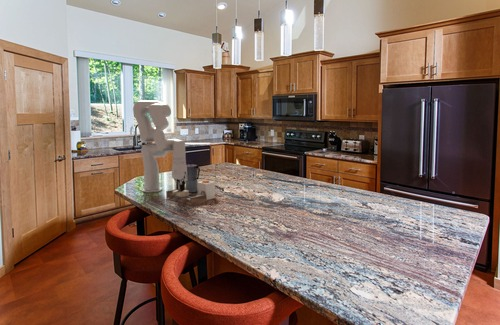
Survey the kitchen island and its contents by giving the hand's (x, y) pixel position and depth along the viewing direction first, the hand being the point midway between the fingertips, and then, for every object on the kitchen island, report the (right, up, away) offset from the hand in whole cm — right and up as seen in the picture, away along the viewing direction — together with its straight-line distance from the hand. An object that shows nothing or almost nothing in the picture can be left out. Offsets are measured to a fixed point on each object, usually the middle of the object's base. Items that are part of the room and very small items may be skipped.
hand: (180, 189), depth 201 cm
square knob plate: (0, -4, +1) cm, 4 cm away
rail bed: (+4, -6, -2) cm, 8 cm away
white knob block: (+15, -5, +2) cm, 17 cm away
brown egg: (+15, +2, +1) cm, 16 cm away
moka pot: (+4, -3, +18) cm, 19 cm away
